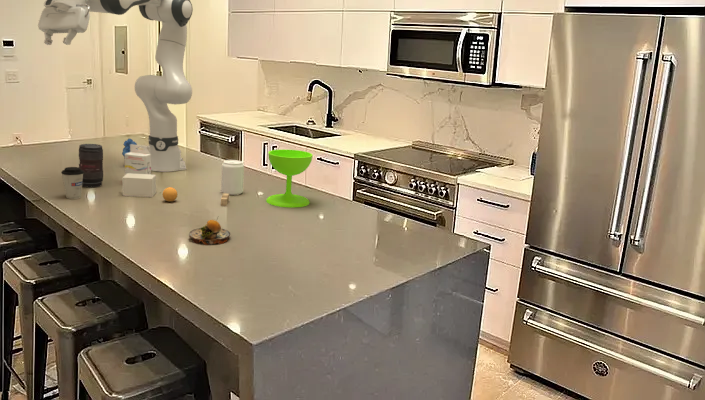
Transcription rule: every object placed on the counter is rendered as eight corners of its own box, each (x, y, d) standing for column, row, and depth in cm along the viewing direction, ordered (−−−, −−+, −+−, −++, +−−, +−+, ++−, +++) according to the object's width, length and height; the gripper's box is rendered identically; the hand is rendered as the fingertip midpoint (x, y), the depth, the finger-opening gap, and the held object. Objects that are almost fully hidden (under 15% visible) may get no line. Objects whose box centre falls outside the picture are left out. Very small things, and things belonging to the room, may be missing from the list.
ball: (163, 199, 210) (163, 185, 209) (178, 199, 211) (178, 186, 209) (161, 202, 205) (161, 188, 204) (176, 203, 206) (176, 189, 205)
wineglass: (283, 193, 230) (286, 147, 226) (318, 202, 223) (321, 154, 218) (257, 201, 217) (258, 152, 213) (292, 210, 209) (295, 159, 205)
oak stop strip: (223, 200, 215) (223, 193, 214) (228, 200, 215) (228, 193, 215) (220, 205, 207) (221, 199, 207) (226, 206, 208) (226, 199, 207)
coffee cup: (57, 197, 202) (56, 168, 200) (75, 193, 209) (74, 165, 206) (71, 200, 199) (70, 171, 197) (89, 197, 205) (88, 168, 203)
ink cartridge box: (124, 184, 226) (123, 145, 222) (130, 181, 231) (129, 143, 227) (145, 186, 225) (145, 147, 222) (151, 183, 230) (151, 145, 226)
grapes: (115, 165, 256) (114, 137, 253) (130, 163, 261) (129, 136, 258) (129, 170, 249) (128, 141, 246) (144, 168, 254) (143, 140, 251)
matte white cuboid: (127, 191, 217) (127, 173, 215) (156, 192, 218) (155, 174, 216) (122, 195, 210) (122, 177, 209) (152, 197, 211) (151, 178, 210)
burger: (213, 230, 182) (214, 206, 180) (238, 240, 175) (239, 216, 173) (179, 238, 173) (180, 213, 171) (205, 249, 166) (205, 223, 164)
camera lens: (87, 189, 215) (86, 148, 211) (75, 184, 220) (74, 144, 216) (108, 186, 221) (107, 146, 218) (96, 182, 226) (95, 142, 222)
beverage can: (238, 196, 221) (239, 164, 218) (217, 193, 223) (218, 162, 220) (246, 191, 229) (247, 161, 226) (226, 189, 230) (227, 158, 227)
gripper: (98, 9, 193) (86, 48, 190) (57, 11, 202) (45, 48, 200) (82, -2, 187) (69, 38, 185) (41, 1, 197) (28, 39, 194)
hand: (56, 44), depth 193 cm, fingers open, 8 cm apart
